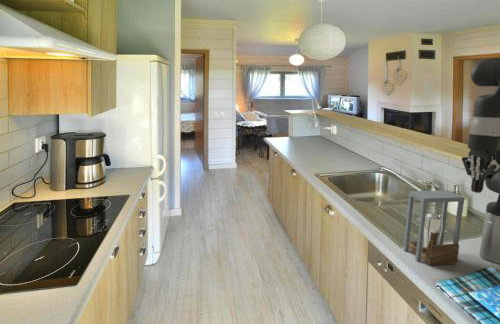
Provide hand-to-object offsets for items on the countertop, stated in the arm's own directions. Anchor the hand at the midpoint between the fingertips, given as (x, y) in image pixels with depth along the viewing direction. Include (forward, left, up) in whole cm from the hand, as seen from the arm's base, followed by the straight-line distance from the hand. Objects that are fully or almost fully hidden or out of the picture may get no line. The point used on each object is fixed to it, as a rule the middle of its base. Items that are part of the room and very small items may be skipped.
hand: (476, 191), depth 98 cm
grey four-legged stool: (-10, -19, -31) cm, 37 cm away
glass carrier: (-9, -18, -30) cm, 37 cm away
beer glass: (-10, -19, -31) cm, 38 cm away
